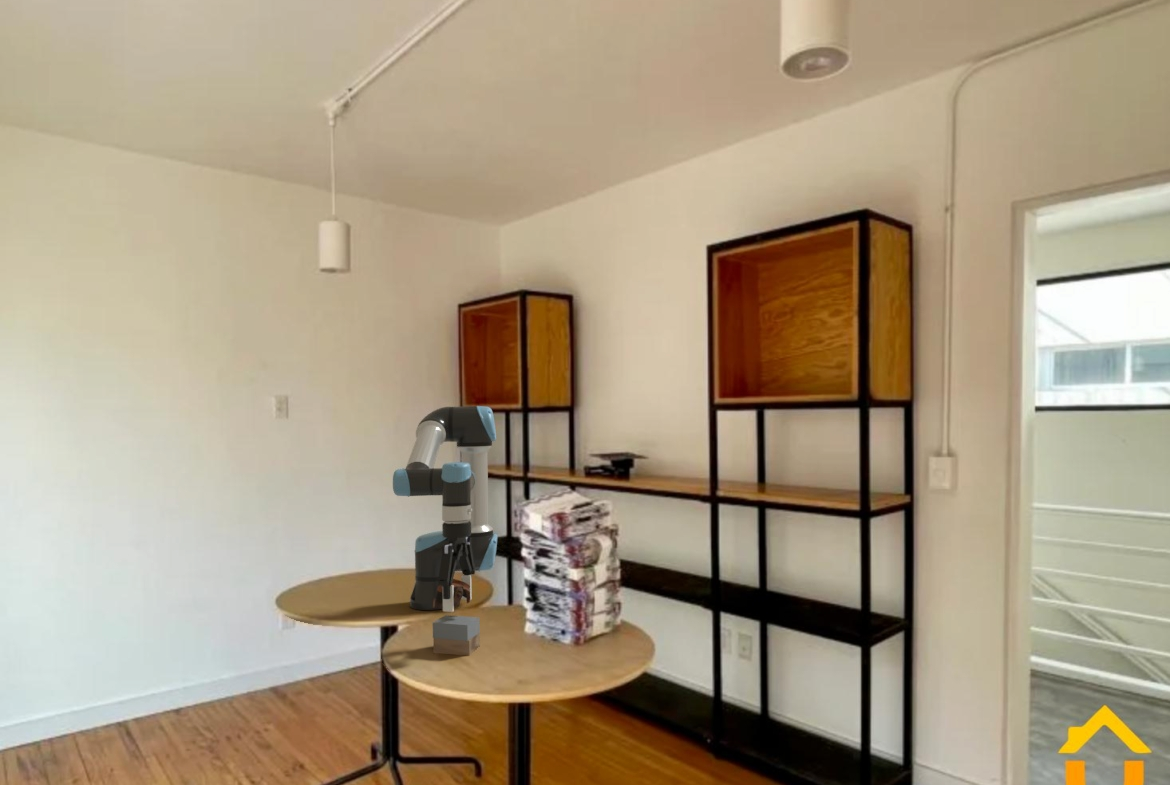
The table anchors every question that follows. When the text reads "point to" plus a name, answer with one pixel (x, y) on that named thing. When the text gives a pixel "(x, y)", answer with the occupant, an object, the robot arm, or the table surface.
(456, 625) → the blue-grey block
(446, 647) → the walnut block
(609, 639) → the table surface
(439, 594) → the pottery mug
